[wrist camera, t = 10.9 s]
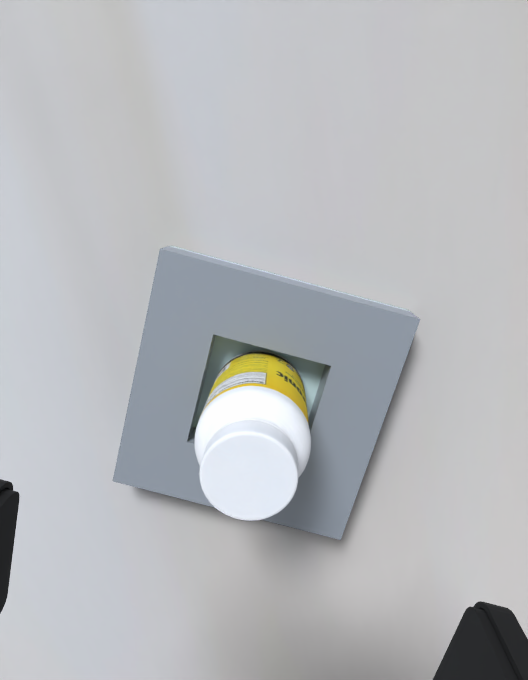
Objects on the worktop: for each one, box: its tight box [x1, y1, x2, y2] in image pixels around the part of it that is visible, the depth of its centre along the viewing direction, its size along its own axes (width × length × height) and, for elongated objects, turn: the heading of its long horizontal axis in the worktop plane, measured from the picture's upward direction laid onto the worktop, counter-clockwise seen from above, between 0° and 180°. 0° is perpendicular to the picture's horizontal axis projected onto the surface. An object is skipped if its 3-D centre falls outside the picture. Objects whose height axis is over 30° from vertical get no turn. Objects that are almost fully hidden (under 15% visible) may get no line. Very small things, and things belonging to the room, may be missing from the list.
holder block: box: [113, 246, 420, 540], centre depth 28 cm, size 14×14×2 cm
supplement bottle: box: [195, 350, 311, 521], centre depth 24 cm, size 5×5×10 cm
